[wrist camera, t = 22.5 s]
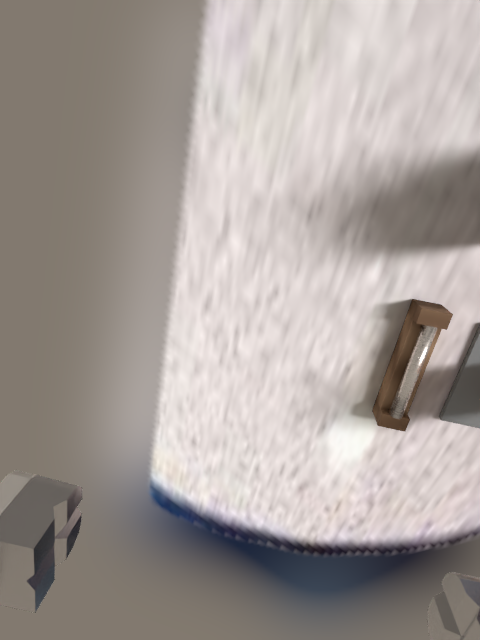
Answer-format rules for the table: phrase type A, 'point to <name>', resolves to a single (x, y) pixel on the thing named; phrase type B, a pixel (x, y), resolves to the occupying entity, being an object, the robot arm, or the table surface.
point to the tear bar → (409, 362)
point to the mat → (466, 390)
